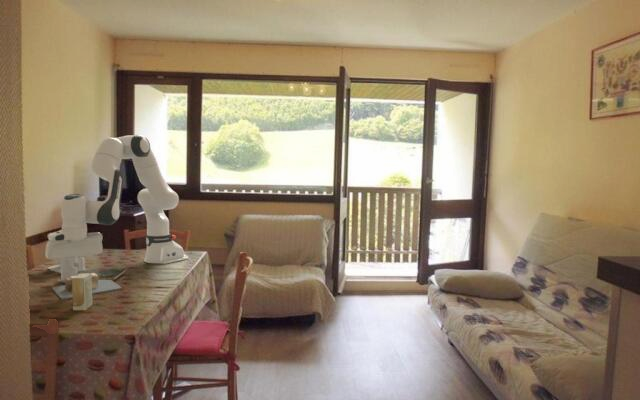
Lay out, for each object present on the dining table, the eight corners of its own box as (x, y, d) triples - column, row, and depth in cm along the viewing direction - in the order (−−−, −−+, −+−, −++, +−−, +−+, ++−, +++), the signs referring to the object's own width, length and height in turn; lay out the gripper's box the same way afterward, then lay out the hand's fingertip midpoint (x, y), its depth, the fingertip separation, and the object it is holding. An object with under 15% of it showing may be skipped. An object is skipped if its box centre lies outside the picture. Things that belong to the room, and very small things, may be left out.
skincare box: (80, 304, 156) (80, 272, 155) (92, 304, 157) (92, 272, 155) (72, 310, 150) (71, 277, 149) (84, 310, 150) (84, 277, 149)
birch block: (94, 272, 178) (64, 277, 171) (97, 275, 175) (67, 280, 167) (94, 284, 179) (65, 289, 171) (97, 287, 175) (68, 292, 168)
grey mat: (108, 279, 189) (108, 277, 189) (121, 289, 176) (121, 287, 176) (51, 288, 174) (51, 286, 174) (61, 299, 161) (61, 298, 161)
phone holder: (87, 270, 202) (86, 233, 201) (65, 275, 194) (64, 236, 192) (67, 264, 211) (66, 229, 209) (46, 269, 202) (44, 232, 201)
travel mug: (81, 280, 186) (80, 236, 184) (68, 284, 180) (67, 238, 178) (71, 278, 188) (69, 234, 187) (57, 282, 182) (56, 237, 180)
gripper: (100, 230, 179) (100, 262, 180) (43, 235, 165) (44, 269, 166) (104, 232, 174) (105, 265, 176) (47, 237, 160) (48, 272, 162)
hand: (75, 267), depth 171 cm, fingers closed
